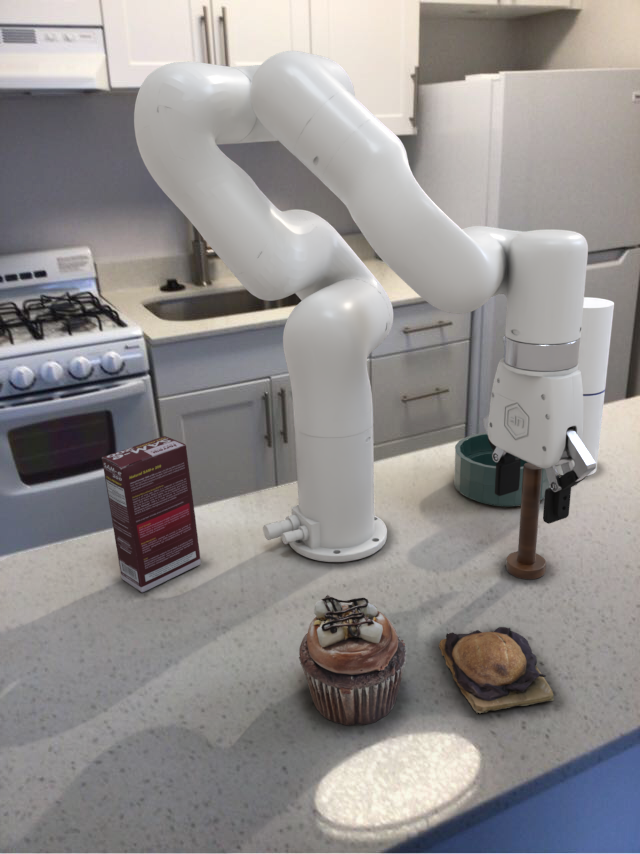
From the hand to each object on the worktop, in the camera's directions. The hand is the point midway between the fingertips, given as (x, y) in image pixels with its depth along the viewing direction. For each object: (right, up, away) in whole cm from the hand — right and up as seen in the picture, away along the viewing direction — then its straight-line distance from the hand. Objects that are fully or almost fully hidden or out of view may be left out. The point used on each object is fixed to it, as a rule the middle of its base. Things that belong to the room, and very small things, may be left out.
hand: (530, 504), depth 85 cm
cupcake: (-21, -16, -16) cm, 30 cm away
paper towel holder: (0, -8, +3) cm, 8 cm away
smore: (-7, -15, -13) cm, 21 cm away
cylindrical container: (+14, +3, +29) cm, 32 cm away
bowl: (+2, 0, +23) cm, 23 cm away
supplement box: (-43, -9, +5) cm, 44 cm away
